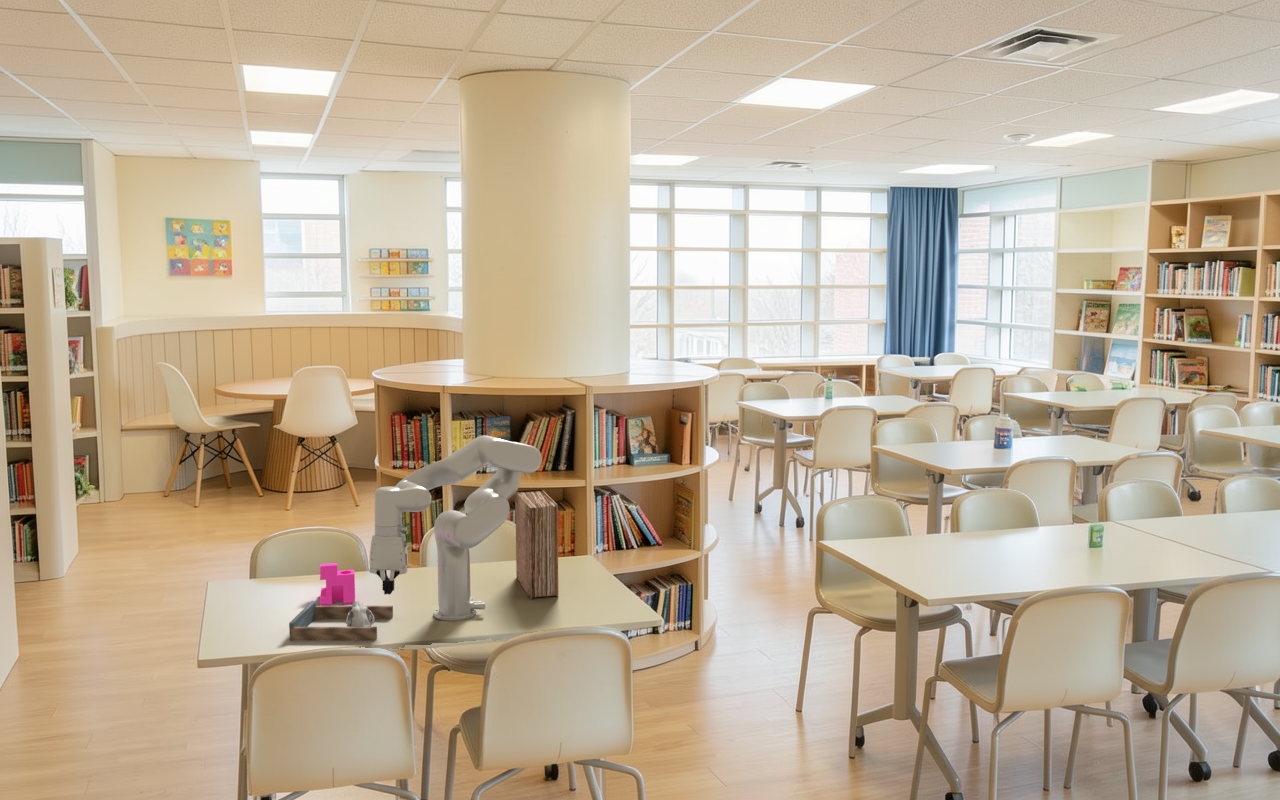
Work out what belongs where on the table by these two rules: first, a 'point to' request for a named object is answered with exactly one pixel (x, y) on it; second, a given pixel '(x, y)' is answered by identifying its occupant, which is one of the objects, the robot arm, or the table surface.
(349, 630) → the bay
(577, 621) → the table surface
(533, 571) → the book
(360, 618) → the skull
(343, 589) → the bracket
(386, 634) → the table surface
